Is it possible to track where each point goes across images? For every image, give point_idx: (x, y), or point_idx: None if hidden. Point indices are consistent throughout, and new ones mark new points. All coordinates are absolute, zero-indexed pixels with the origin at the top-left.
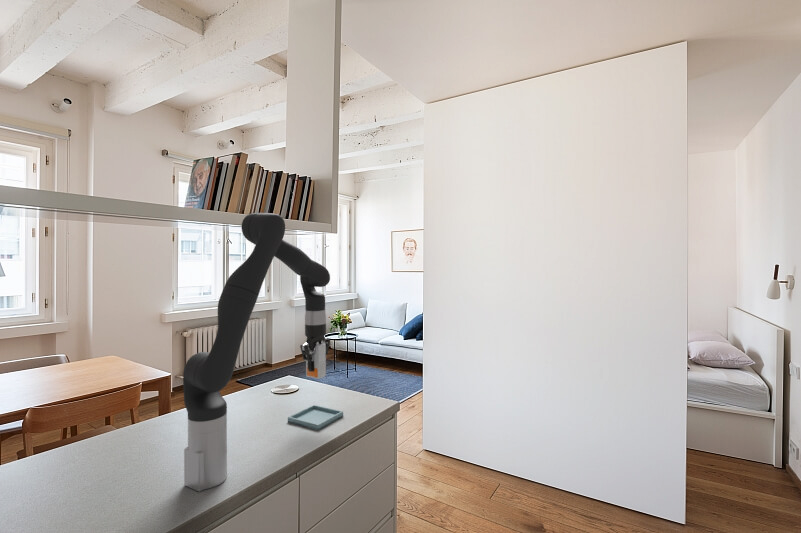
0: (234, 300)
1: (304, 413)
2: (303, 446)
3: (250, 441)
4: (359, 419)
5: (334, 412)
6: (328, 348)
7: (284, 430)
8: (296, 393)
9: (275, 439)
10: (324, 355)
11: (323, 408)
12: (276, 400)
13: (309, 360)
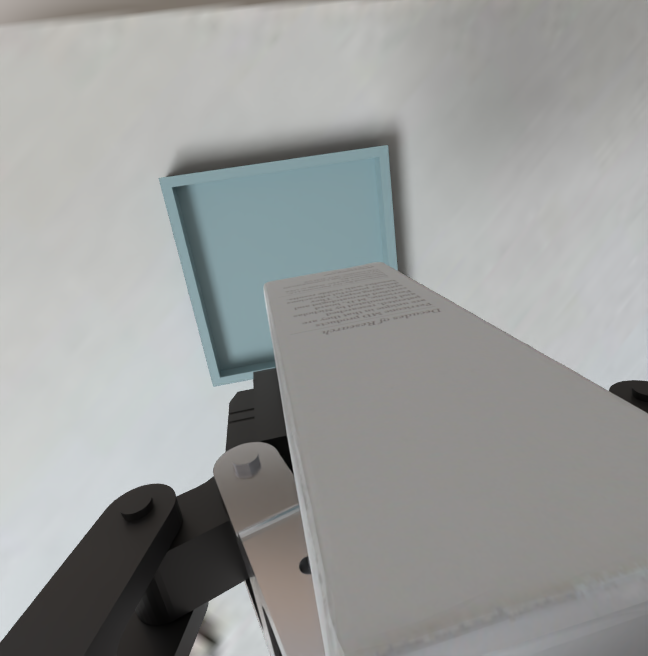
0: None
1: None
2: (541, 62)
3: (595, 295)
4: (122, 52)
5: (187, 235)
6: (28, 618)
7: (463, 278)
8: None
9: (543, 232)
10: (331, 376)
11: (204, 315)
12: None
13: (624, 384)
